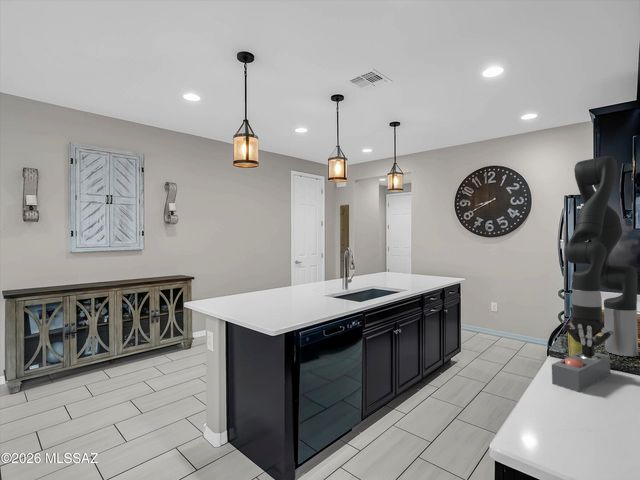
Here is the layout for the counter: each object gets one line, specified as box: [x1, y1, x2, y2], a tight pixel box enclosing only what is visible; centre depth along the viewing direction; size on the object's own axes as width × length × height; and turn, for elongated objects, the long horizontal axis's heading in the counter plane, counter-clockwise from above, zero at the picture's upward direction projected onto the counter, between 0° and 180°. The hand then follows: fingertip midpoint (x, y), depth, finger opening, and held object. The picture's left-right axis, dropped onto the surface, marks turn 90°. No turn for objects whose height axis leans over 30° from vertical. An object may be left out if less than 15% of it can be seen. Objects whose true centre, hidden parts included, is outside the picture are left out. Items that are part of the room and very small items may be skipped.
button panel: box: [551, 351, 611, 393], centre depth 106 cm, size 22×7×6 cm, turn 121°
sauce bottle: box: [567, 305, 582, 357], centre depth 119 cm, size 7×6×20 cm
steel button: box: [580, 354, 597, 361], centre depth 108 cm, size 4×4×5 cm
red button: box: [564, 357, 583, 368], centre depth 103 cm, size 4×4×5 cm
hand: (588, 356), depth 108 cm, fingers closed
